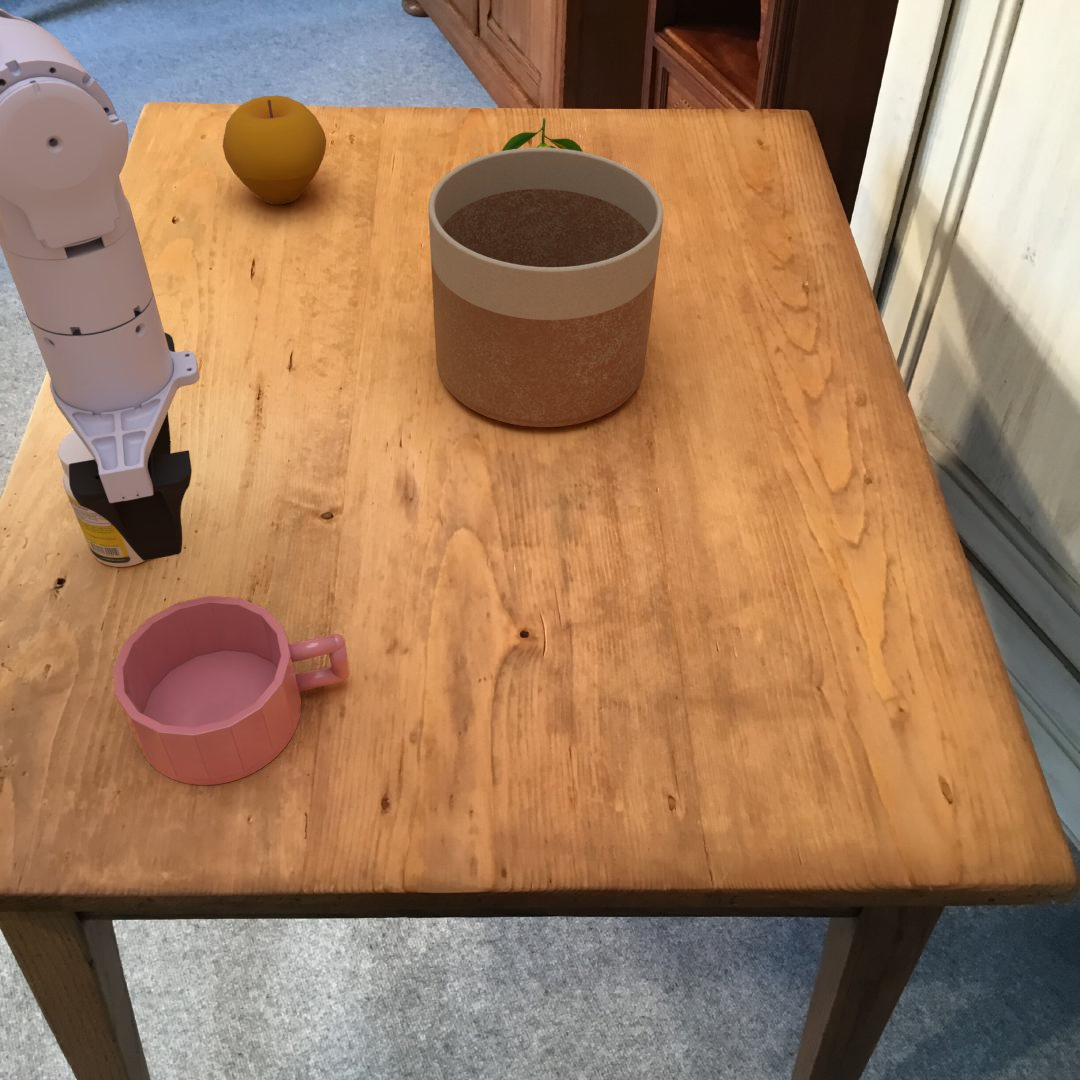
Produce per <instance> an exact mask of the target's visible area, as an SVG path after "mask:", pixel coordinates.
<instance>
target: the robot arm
mask: <svg viewBox="0 0 1080 1080" xmlns="http://www.w3.org/2000/svg"><path fill="white" fill-rule="evenodd" d="M129 137H130V136H129V129H128V123H127V122H126V121H125V120H124V119H119V117H118V113H117V112H116V108H115V107H114V104H113V102H112V100H111V98H110V97H109V95H108V93H107V92H106V91H105V90H104V89H103V88H102V86H101V85H100V84H99V83H98V82H97V81H96V79H94V77H93V76H91V74H90V73H89V72H88V71H87V70H86V68H85V67H84V66H83V65H82V64H81V62H79V61H78V60H77V59H76V57H75V56H74V55H73V54H72V53H71V52H70V51H69V49H67V47H65V45H64V44H63V43H62V42H61V41H60V40H59V39H58V38H56V36H54V35H53V34H52V33H51V32H49V31H48V30H46V29H44V28H43V27H42V26H41V25H39V24H37V23H35V22H33V21H31V20H29V19H26V18H24V17H20V16H15V15H13V14H10V12H8V11H6V10H5V9H2V8H0V248H1V252H2V254H3V256H4V259H5V262H6V264H7V267H8V269H9V272H10V275H11V277H12V280H13V283H14V285H15V288H16V291H17V293H18V296H19V298H20V301H21V304H22V307H23V309H24V312H25V314H26V317H27V320H28V323H29V325H30V329H31V330H32V333H33V336H34V339H35V341H36V344H37V347H38V349H39V352H40V355H41V356H42V360H43V362H44V365H45V368H46V370H47V372H48V375H49V379H50V381H49V388H50V393H51V396H52V398H53V401H54V403H55V405H56V407H57V408H58V409H59V411H60V413H61V414H62V415H63V417H64V418H65V420H66V421H67V422H68V424H69V425H70V427H71V429H73V430H74V431H75V432H76V434H77V435H78V437H79V438H80V439H81V441H82V442H83V444H84V445H85V446H86V448H87V449H88V451H89V452H90V454H91V455H92V456H93V458H94V460H88V461H82V462H76V463H71V464H69V485H70V489H71V491H72V494H73V496H74V497H75V499H76V501H77V502H78V503H79V504H80V506H82V507H85V508H87V509H89V510H92V511H94V512H96V513H97V514H99V515H100V516H102V517H103V518H105V519H106V520H107V521H109V522H110V523H111V524H112V525H113V526H114V527H115V528H116V529H117V530H118V532H119V533H120V534H121V535H122V536H123V538H124V539H125V540H126V541H127V543H128V544H129V545H130V547H131V548H132V549H133V550H134V551H135V553H136V554H137V555H138V556H139V557H140V558H141V559H142V560H144V561H143V562H146V561H150V560H151V561H152V560H156V559H162V558H167V557H172V556H178V555H180V554H181V553H182V548H183V528H182V504H183V500H184V497H185V494H186V492H187V490H188V489H189V487H190V484H191V480H192V471H193V470H192V462H191V456H190V450H187V449H186V450H181V451H175V452H171V451H172V445H171V442H172V441H171V430H170V419H169V410H170V407H171V405H172V404H173V400H174V398H175V396H176V393H177V391H178V390H179V389H180V388H182V387H186V386H192V385H195V384H196V383H197V382H199V380H200V369H199V364H198V360H197V356H196V354H195V353H194V352H193V351H190V350H183V351H176V347H175V343H174V339H173V336H171V334H170V333H167V332H165V329H164V326H163V322H162V319H161V314H160V312H159V307H158V304H157V301H156V297H155V293H154V289H153V285H152V282H151V278H150V274H149V270H148V267H147V263H146V259H145V256H144V252H143V248H142V245H141V240H140V238H139V232H138V230H137V227H136V222H135V219H134V215H133V212H132V208H131V204H130V202H129V199H128V198H127V197H126V194H125V193H124V189H123V185H122V181H121V178H120V174H121V172H122V171H123V170H124V166H125V163H126V162H127V161H126V160H127V157H128V153H129V152H128V151H129V144H130V142H129V141H130V139H129Z"/></svg>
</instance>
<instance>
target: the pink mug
mask: <svg viewBox="0 0 1080 1080" xmlns="http://www.w3.org/2000/svg"><path fill="white" fill-rule="evenodd" d="M327 655H328V658H329V664H330V665H329V666H324V667H321V668H316V669H312V670H311V669H310V670H307V671H303V672H300V673H296V670H295V666H294V663H296V662H300V661H304V660H309V659H314V658H318V657H322V656H327ZM350 667H351V666H350V662H349V656H348V651H347V645H346V640H345V637H344V636H343V635H342V634H340V633H333V634H329V635H324V636H319V637H316V638H311V639H307V640H302V641H298V642H293V643H289V639H288V635H287V631H286V629H285V628H284V627H283V626H282V624H281V623H279V621H278V620H277V618H275V617H274V615H273V613H271V612H270V611H269V610H268V609H266V608H264V607H262V606H260V605H257V604H255V603H253V602H251V601H249V600H246V599H244V598H241V597H229V596H218V595H217V596H216V595H207V596H203V597H198V598H193V599H189V600H183V601H179V602H176V603H174V604H172V605H170V606H169V607H167V608H165V609H163V610H161V611H159V612H157V613H155V614H153V615H151V616H150V617H148V618H147V619H146V620H144V622H142V623H141V624H140V625H139V626H138V627H137V628H136V630H135V631H134V632H132V634H131V635H130V636H129V637H128V638H127V639H125V641H124V642H123V645H122V647H121V650H120V652H119V654H118V656H117V659H116V661H115V663H114V666H113V669H112V673H113V685H114V686H113V687H114V696H115V699H116V701H117V704H118V706H119V707H120V710H121V712H122V714H123V716H124V719H125V721H126V723H127V726H128V728H129V730H130V733H131V734H132V737H133V739H134V741H135V743H136V744H137V746H138V747H139V750H140V751H141V753H142V755H143V756H144V758H145V760H146V761H147V762H148V763H149V765H150V766H152V767H153V768H154V769H155V770H156V771H157V772H159V773H161V774H162V775H163V776H165V777H167V778H170V779H171V780H174V781H177V782H180V783H184V784H189V785H194V786H195V785H196V786H212V785H221V784H226V783H231V782H234V781H237V780H240V779H243V778H245V777H248V776H250V775H252V774H254V773H256V772H257V771H259V770H261V769H263V768H264V767H266V766H267V765H269V764H270V763H271V762H272V761H273V760H274V759H275V758H276V757H278V756H279V755H280V754H281V753H282V751H283V750H284V749H285V748H286V747H287V745H288V744H289V743H290V742H291V740H292V738H293V736H294V734H295V732H296V730H297V727H298V725H299V722H300V717H301V712H302V699H301V693H300V692H304V691H309V690H313V689H317V688H321V687H324V686H329V685H333V684H338V683H341V682H345V681H347V680H348V679H349V678H350V675H351V668H350Z"/></svg>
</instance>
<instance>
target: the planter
mask: <svg viewBox="0 0 1080 1080" xmlns="http://www.w3.org/2000/svg"><path fill="white" fill-rule="evenodd" d="M427 206H428V226H429V228H428V229H429V244H430V245H429V246H430V248H429V249H430V266H431V267H430V268H431V285H432V302H433V303H432V304H433V305H432V306H433V322H434V323H433V325H434V344H435V361H436V362H435V363H436V368H437V372H438V375H439V377H440V380H441V381H442V383H443V385H444V386H445V387H446V389H447V390H448V391H449V393H450V394H451V395H452V396H453V397H455V399H457V400H458V401H459V402H460V403H462V404H463V405H464V406H466V407H468V408H469V409H471V410H472V411H474V412H476V413H478V414H480V415H482V416H485V417H487V418H490V419H492V420H495V421H499V422H502V423H507V424H510V425H514V426H515V425H516V426H520V427H521V426H522V427H529V428H531V427H532V428H555V427H566V426H567V427H568V426H572V425H573V426H574V425H578V424H583V423H585V422H589V421H592V420H595V419H599V418H601V417H603V416H605V415H607V414H609V413H610V412H613V411H614V410H616V409H617V408H618V407H620V406H622V405H623V404H624V403H625V402H626V401H628V399H630V398H631V396H632V395H633V394H634V393H635V391H636V390H638V387H639V386H640V384H641V382H642V380H643V377H644V374H645V368H646V360H647V353H648V345H649V337H650V327H651V319H652V314H653V313H652V310H653V305H654V304H653V303H654V297H655V296H654V295H655V288H656V280H657V279H656V278H657V272H658V271H657V270H658V265H659V264H658V262H659V255H660V247H661V239H662V231H663V224H664V208H663V203H662V200H661V198H660V196H659V194H658V193H657V191H656V190H655V188H654V187H653V186H652V185H651V184H650V182H648V181H647V180H646V179H645V178H644V177H643V176H641V175H640V174H638V173H637V172H636V171H634V170H633V169H631V168H629V167H627V166H625V165H623V164H621V163H619V162H617V161H615V160H612V159H609V158H607V157H604V156H601V155H597V154H593V153H589V152H584V151H583V152H580V151H575V150H568V149H560V148H558V147H556V148H532V147H522V148H518V149H512V150H506V151H502V150H501V151H497V152H496V151H495V152H491V153H488V154H484V155H481V156H477V157H476V158H473V159H470V160H468V161H466V162H464V163H462V164H460V165H458V166H456V167H455V168H454V169H452V170H450V171H449V172H448V173H446V174H445V175H444V176H443V177H442V178H441V179H440V180H439V181H438V182H437V184H436V185H435V186H434V187H433V189H432V191H431V193H430V196H429V199H428V205H427Z"/></svg>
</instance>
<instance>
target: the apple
mask: <svg viewBox="0 0 1080 1080" xmlns="http://www.w3.org/2000/svg"><path fill="white" fill-rule="evenodd" d="M326 149H327V137H326V133H325V131H324V129H323V127H322V124H321V123H320V122H319V120H318V118H317V116H316V115H315V114H314V113H313V112H312V111H311V110H310V109H308V107H306V105H305V104H304V103H302V102H299V101H298V100H295V99H293V98H291V97H289V96H283V95H265V96H260V97H255V98H252V99H250V100H248V101H246V102H244V103H243V104H241V105H239V106H238V107H237V108H236V110H234V111H233V113H231V115H230V116H229V118H228V119H227V121H226V123H225V129H224V133H223V139H222V150H223V154H224V158H225V160H226V162H227V164H228V165H229V167H230V169H231V171H232V172H233V174H234V175H235V176H236V177H237V178H238V180H240V182H241V183H242V184H243V185H244V187H246V188H247V189H248V190H249V191H250V192H251V193H252V194H254V195H255V196H256V197H257V198H258V199H260V200H261V201H262V202H265V203H268V204H270V205H274V206H282V205H285V204H288V203H291V202H294V201H295V200H297V199H298V198H299V197H300V196H301V195H302V194H303V193H304V192H305V190H307V188H308V187H309V185H310V184H311V182H312V181H313V179H314V177H315V176H316V174H317V173H318V171H319V169H320V167H321V164H322V162H323V160H324V158H325V153H326Z"/></svg>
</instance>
